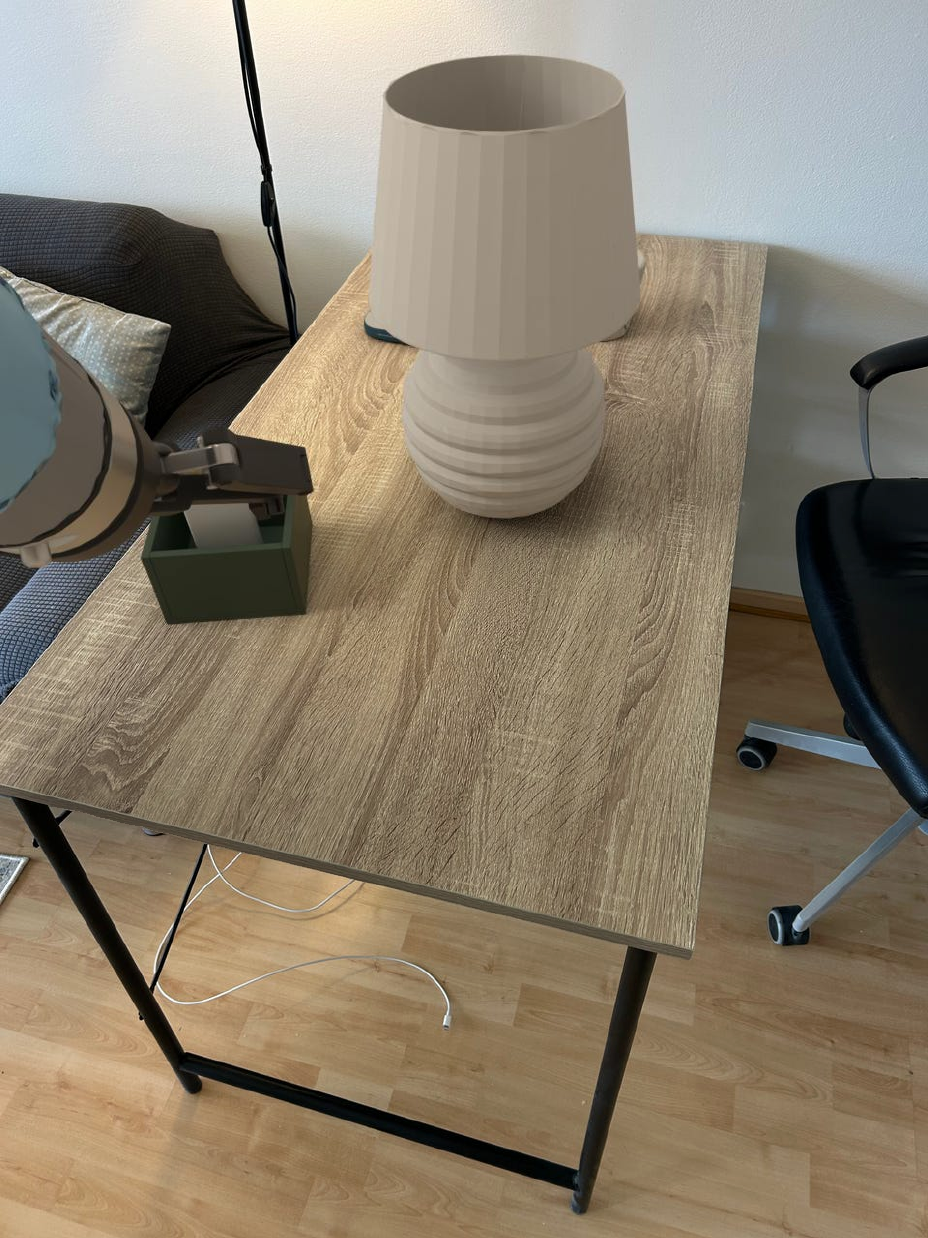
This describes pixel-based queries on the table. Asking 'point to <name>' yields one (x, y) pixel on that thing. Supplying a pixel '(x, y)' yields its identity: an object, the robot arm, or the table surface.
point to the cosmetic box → (223, 525)
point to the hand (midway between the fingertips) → (150, 517)
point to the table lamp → (504, 269)
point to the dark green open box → (231, 569)
